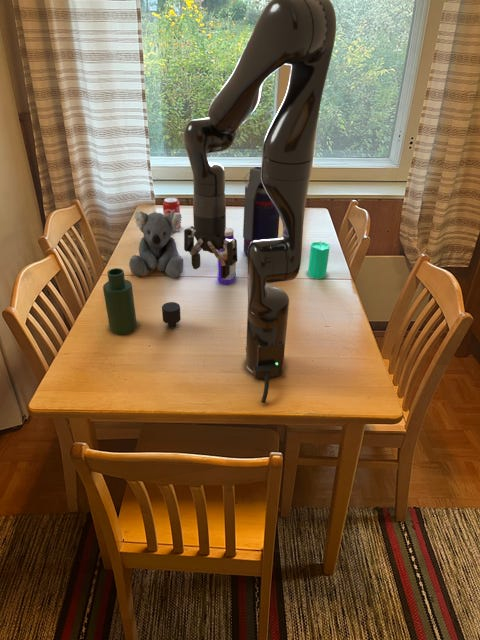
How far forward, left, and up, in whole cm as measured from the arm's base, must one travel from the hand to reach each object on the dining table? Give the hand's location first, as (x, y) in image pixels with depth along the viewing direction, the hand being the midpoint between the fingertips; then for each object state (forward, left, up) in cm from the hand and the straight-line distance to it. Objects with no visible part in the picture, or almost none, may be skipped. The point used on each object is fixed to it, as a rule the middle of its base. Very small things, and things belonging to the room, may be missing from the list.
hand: (210, 272), depth 118 cm
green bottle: (+6, +23, -18) cm, 30 cm away
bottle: (+26, -10, -18) cm, 33 cm away
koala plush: (+40, +10, -18) cm, 45 cm away
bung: (+4, +10, -18) cm, 21 cm away
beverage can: (+70, +2, -18) cm, 73 cm away
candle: (+24, -40, -18) cm, 50 cm away
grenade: (+42, -25, -18) cm, 52 cm away
